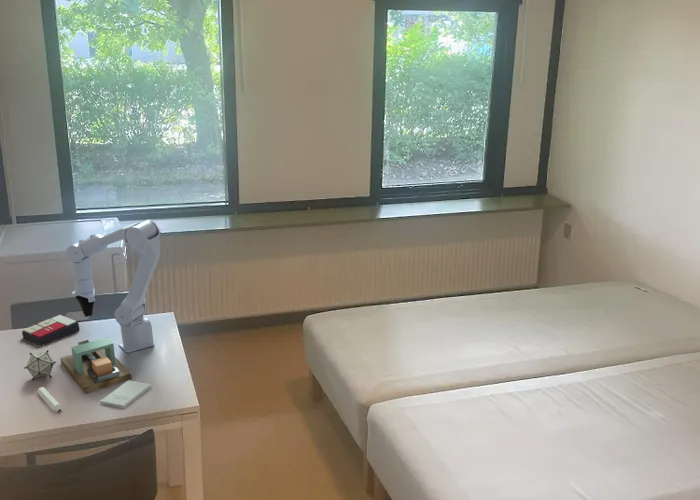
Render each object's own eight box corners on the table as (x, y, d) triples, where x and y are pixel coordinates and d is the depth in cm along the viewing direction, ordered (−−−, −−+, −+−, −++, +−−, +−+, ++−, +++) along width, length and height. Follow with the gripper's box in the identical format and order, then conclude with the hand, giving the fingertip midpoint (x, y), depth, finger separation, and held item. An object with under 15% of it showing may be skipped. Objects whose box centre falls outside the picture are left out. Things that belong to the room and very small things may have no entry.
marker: (61, 418, 186) (41, 395, 197) (67, 412, 187) (47, 390, 198) (55, 412, 185) (35, 390, 196) (61, 407, 185) (41, 385, 197)
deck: (105, 351, 223) (104, 345, 222) (131, 378, 205) (131, 373, 204) (61, 363, 215) (60, 357, 214) (84, 393, 197) (83, 387, 196)
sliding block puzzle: (20, 329, 232) (59, 312, 243) (23, 340, 233) (62, 323, 245) (38, 337, 226) (78, 319, 237) (41, 348, 227) (80, 330, 239)
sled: (95, 349, 219) (94, 338, 217) (120, 375, 202) (118, 363, 201) (72, 355, 214) (71, 344, 213) (95, 382, 198) (93, 370, 196)
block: (108, 369, 206) (106, 356, 205) (113, 375, 203) (111, 362, 201) (93, 374, 204) (91, 360, 202) (98, 380, 200) (96, 366, 199)
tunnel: (109, 357, 214) (107, 337, 212) (115, 363, 210) (113, 343, 208) (74, 367, 208) (71, 347, 206) (79, 374, 204) (76, 353, 201)
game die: (46, 389, 206) (40, 375, 198) (21, 378, 207) (15, 364, 199) (64, 365, 212) (59, 351, 204) (40, 355, 212) (34, 339, 204)
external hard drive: (151, 389, 200) (124, 410, 189) (128, 384, 203) (100, 405, 192) (150, 384, 199) (123, 405, 188) (127, 379, 202) (99, 400, 191)
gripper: (64, 274, 226) (69, 311, 230) (77, 286, 215) (82, 325, 219) (85, 269, 230) (90, 306, 235) (99, 281, 219) (104, 320, 224)
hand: (88, 315), depth 227 cm, fingers closed
